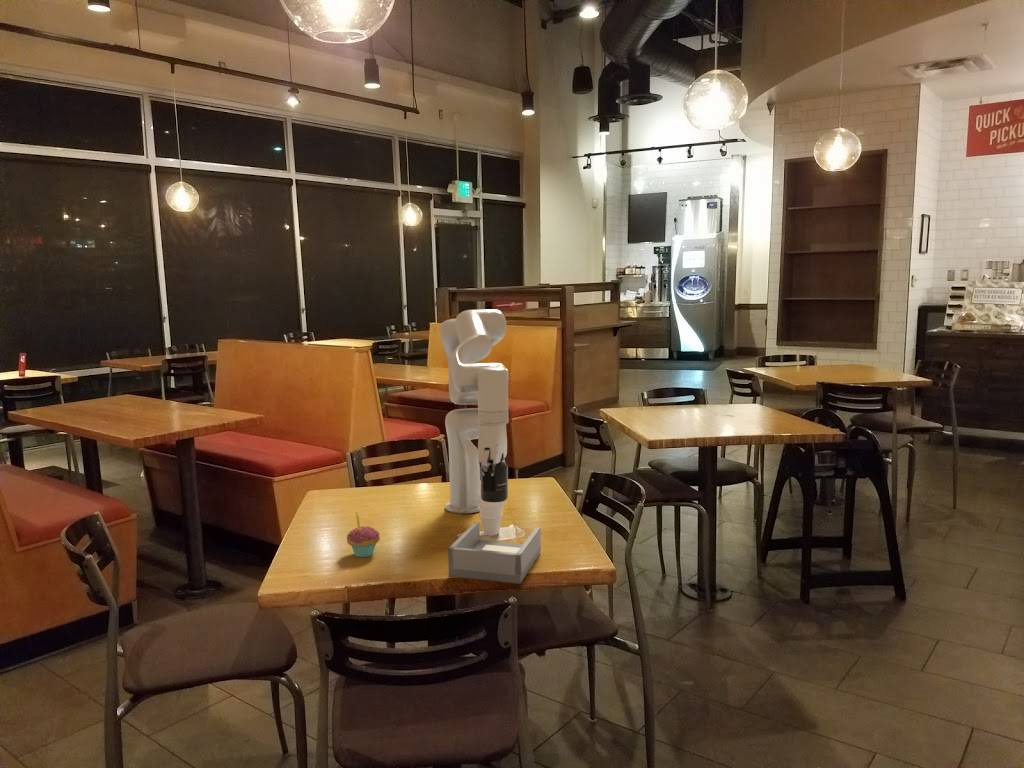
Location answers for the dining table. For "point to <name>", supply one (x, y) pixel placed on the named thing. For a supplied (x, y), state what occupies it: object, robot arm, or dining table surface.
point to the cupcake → (363, 540)
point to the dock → (492, 557)
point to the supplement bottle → (497, 483)
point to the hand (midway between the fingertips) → (494, 486)
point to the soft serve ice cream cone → (490, 515)
